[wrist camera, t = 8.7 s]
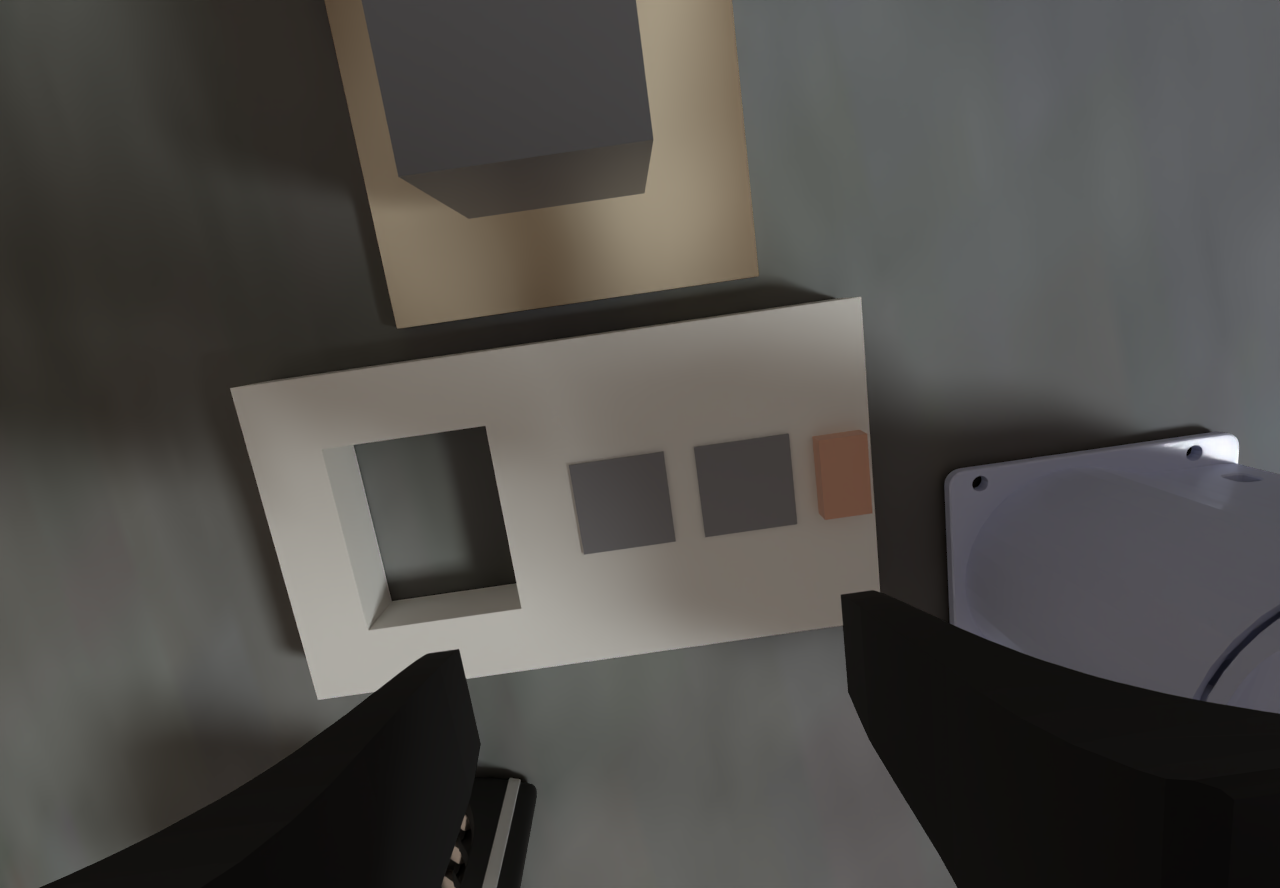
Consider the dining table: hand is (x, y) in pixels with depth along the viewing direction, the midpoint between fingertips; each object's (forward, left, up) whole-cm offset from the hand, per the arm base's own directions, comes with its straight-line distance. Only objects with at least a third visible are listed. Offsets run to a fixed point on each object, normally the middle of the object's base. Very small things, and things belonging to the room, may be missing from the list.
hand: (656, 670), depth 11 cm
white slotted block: (+2, -1, -9) cm, 10 cm away
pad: (+1, -13, -9) cm, 16 cm away
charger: (+1, -12, -9) cm, 15 cm away
